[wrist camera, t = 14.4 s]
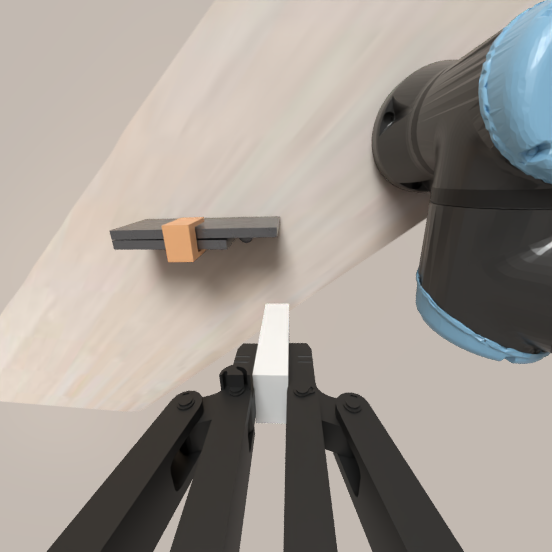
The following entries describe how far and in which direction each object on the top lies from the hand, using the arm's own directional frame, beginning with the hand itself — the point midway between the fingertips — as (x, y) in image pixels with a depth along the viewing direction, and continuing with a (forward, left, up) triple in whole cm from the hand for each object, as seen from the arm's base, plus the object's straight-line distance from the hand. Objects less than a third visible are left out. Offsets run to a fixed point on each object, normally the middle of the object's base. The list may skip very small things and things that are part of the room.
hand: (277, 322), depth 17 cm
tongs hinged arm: (+12, -8, -26) cm, 30 cm away
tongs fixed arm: (+9, -7, -26) cm, 29 cm away
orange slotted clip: (+10, -8, -21) cm, 25 cm away
